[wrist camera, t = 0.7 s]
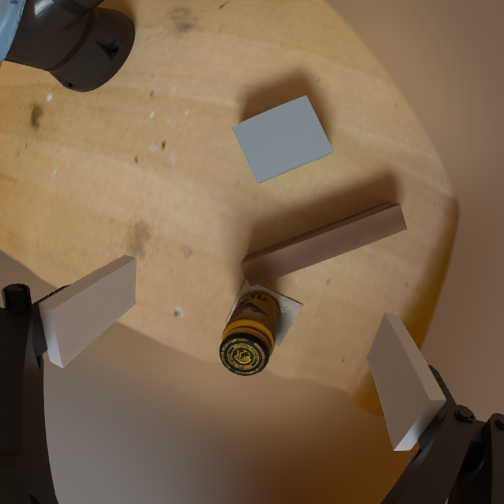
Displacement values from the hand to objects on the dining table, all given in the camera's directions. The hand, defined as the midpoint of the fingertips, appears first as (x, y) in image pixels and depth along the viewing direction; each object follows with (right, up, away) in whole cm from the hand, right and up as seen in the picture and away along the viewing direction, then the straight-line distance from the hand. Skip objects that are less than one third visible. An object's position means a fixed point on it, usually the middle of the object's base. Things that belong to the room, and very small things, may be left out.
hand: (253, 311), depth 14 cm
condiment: (+2, -6, +26) cm, 27 cm away
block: (+4, +16, +20) cm, 26 cm away
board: (+9, +5, +22) cm, 24 cm away
